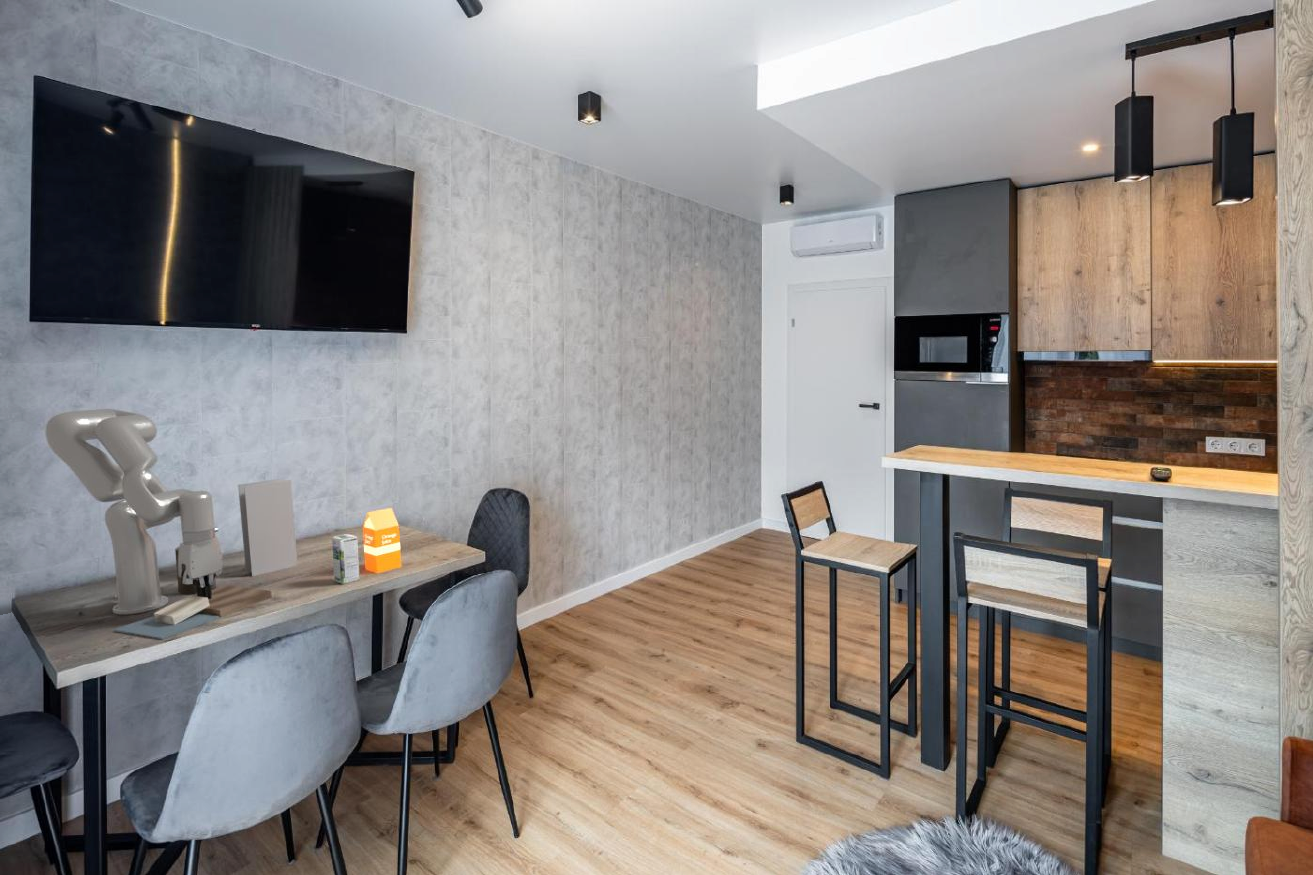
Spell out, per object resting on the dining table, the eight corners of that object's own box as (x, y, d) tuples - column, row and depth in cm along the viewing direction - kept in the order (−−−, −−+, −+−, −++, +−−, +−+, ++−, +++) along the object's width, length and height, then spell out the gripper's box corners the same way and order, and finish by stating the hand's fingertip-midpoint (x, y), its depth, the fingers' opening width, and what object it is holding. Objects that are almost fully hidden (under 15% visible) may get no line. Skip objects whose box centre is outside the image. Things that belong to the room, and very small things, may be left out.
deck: (174, 610, 186) (173, 603, 186) (227, 591, 201) (226, 585, 201) (220, 617, 180) (219, 610, 180) (271, 597, 195) (271, 590, 195)
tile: (156, 621, 176) (153, 613, 175) (191, 603, 185) (189, 595, 185) (174, 624, 174) (172, 616, 173) (209, 605, 183) (207, 597, 182)
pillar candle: (197, 595, 198) (193, 547, 196) (170, 593, 200) (166, 545, 198) (224, 585, 207) (220, 538, 206) (198, 583, 209) (194, 537, 208)
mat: (114, 631, 171) (113, 629, 171) (172, 610, 186) (172, 609, 186) (162, 639, 166) (162, 637, 166) (218, 617, 180) (218, 616, 180)
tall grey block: (291, 562, 230) (284, 478, 227) (297, 565, 226) (291, 480, 223) (245, 573, 219) (238, 484, 216) (252, 576, 216) (244, 486, 212)
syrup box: (333, 581, 209) (330, 536, 208) (351, 576, 214) (348, 532, 212) (342, 584, 206) (339, 539, 204) (360, 579, 210) (357, 535, 209)
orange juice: (365, 569, 221) (361, 511, 219) (389, 562, 228) (385, 506, 226) (377, 573, 217) (373, 514, 214) (401, 566, 223) (398, 509, 221)
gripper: (214, 528, 191) (219, 589, 193) (162, 541, 177) (168, 607, 179) (233, 530, 189) (239, 591, 191) (182, 543, 175) (188, 610, 177)
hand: (204, 599), depth 185 cm, fingers closed
